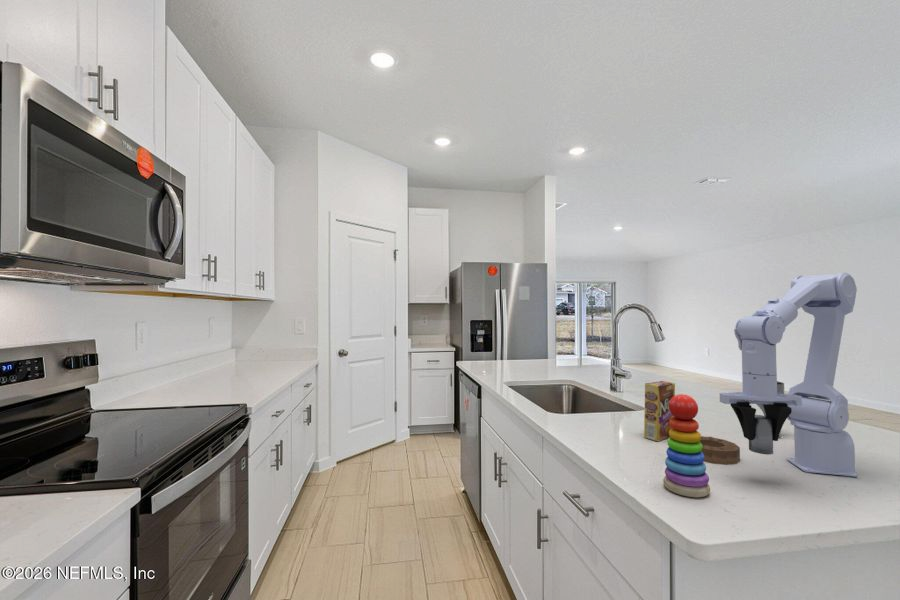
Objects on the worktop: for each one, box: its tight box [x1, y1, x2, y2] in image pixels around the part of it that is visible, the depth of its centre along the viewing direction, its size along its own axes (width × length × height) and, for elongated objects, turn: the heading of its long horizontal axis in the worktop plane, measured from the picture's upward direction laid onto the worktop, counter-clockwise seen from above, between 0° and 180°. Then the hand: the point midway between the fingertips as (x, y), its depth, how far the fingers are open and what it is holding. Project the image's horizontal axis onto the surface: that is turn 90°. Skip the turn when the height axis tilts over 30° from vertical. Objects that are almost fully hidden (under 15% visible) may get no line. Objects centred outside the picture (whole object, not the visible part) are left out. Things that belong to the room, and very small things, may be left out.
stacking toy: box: [662, 393, 711, 498], centre depth 79 cm, size 8×8×19 cm
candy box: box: [643, 380, 676, 442], centre depth 112 cm, size 9×4×15 cm, turn 123°
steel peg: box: [748, 414, 774, 455], centre depth 83 cm, size 4×4×7 cm
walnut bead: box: [700, 435, 741, 465], centre depth 98 cm, size 11×11×3 cm
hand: (760, 439), depth 83 cm, fingers closed on steel peg, 4 cm apart
